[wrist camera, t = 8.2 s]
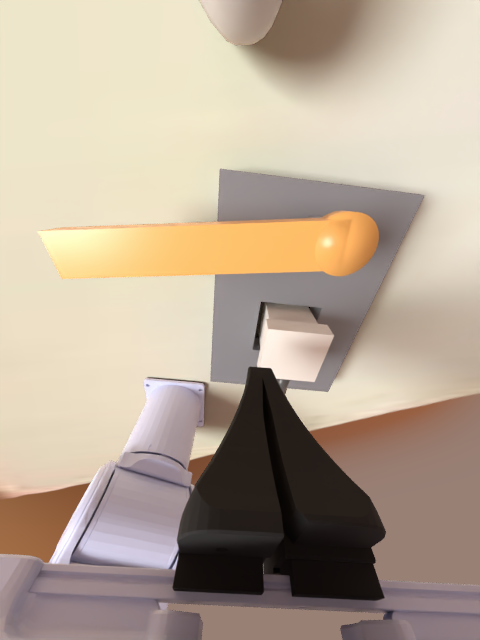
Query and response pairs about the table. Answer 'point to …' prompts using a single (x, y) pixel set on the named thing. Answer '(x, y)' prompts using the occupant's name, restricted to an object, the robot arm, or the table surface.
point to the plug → (292, 343)
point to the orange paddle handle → (215, 247)
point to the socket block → (300, 287)
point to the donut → (242, 18)
